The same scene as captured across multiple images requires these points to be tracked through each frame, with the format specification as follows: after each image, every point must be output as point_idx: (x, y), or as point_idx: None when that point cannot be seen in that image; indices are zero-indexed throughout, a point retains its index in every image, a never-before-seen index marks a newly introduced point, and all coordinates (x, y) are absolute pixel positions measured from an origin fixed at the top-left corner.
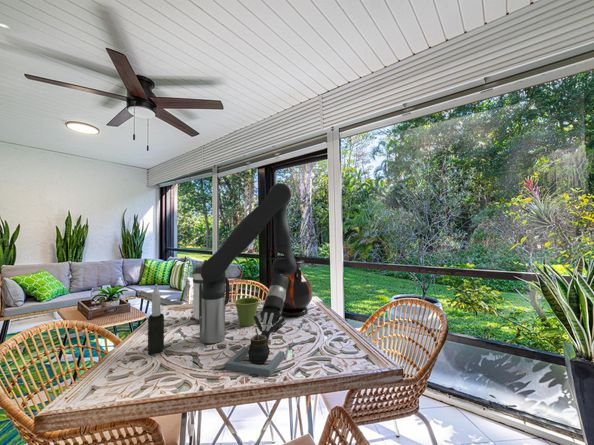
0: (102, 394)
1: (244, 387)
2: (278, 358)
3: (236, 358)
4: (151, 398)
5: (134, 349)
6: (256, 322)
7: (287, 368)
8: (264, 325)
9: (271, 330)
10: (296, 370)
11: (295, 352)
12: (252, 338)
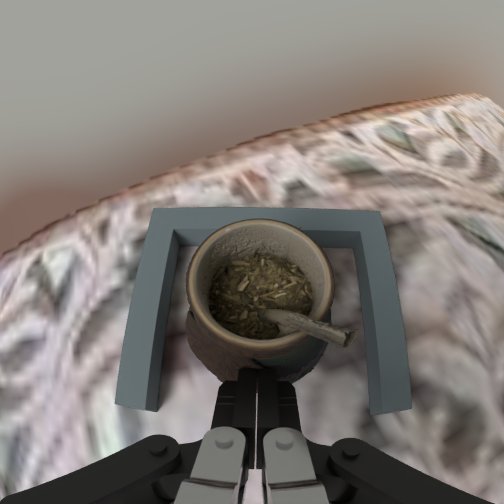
0: (485, 118)
1: (230, 158)
2: (131, 313)
3: (365, 266)
4: (412, 108)
5: None
6: (425, 481)
7: (98, 299)
8: (287, 477)
9: (182, 449)
10: (65, 291)
11: None
12: (320, 277)
